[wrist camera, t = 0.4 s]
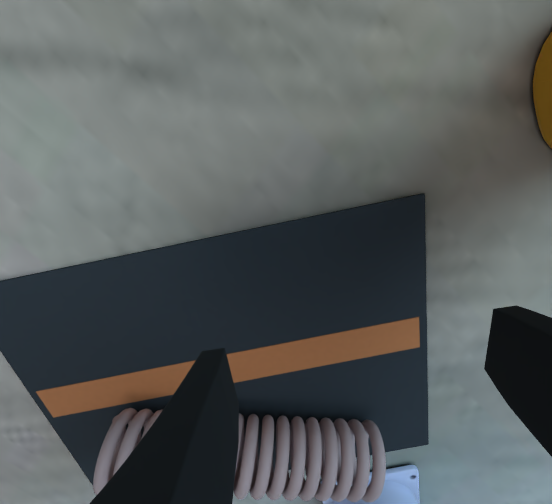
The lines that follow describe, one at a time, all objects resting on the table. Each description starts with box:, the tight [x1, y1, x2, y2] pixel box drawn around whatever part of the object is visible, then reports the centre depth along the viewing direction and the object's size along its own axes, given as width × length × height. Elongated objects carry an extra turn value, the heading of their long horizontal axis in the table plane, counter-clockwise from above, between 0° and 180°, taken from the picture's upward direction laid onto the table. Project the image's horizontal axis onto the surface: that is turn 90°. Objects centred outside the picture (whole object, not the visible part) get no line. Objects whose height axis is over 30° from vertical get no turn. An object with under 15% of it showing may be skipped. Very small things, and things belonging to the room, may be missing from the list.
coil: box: [93, 408, 386, 503], centre depth 21 cm, size 5×5×18 cm
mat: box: [0, 194, 428, 485], centre depth 21 cm, size 20×26×1 cm
